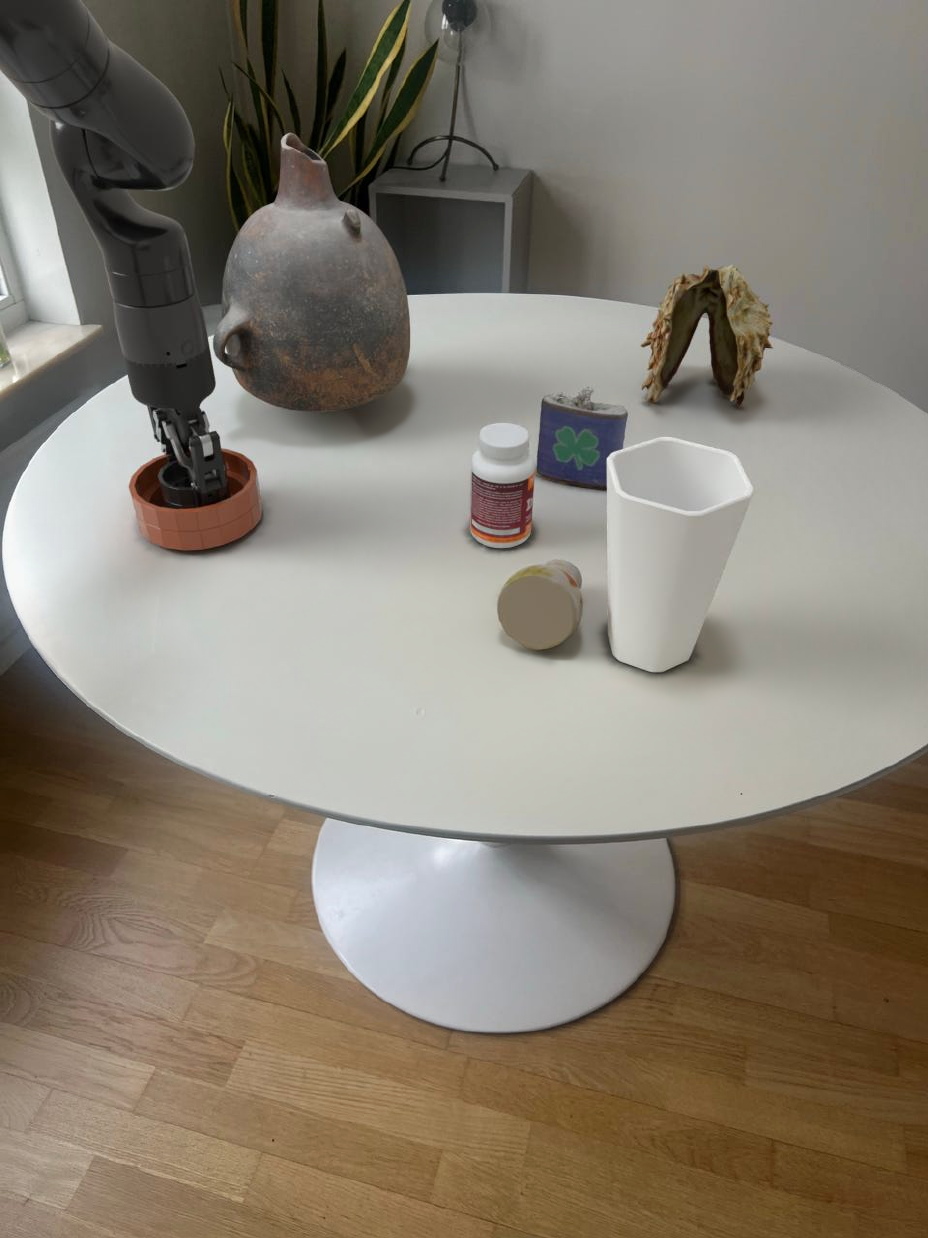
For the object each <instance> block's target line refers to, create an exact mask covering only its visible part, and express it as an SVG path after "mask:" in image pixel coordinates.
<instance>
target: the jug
mask: <svg viewBox="0 0 928 1238" xmlns="http://www.w3.org/2000/svg"><path fill="white" fill-rule="evenodd" d="M279 169H280V170H279V171H280V173H279V181H278V182H279V183H278V190H277V193H276V197H275V199H274V201H273V202H272V203H269V204H267V205H264V206H262V207H260V208H259V209H257V210H256V211H254V213H252V214H251V215H250V216H249V217H248V218H247V220H246V221H245V222H244V223H243V225H242V226H241V228H240V230H239V232H237V235H236V237H235V239H234V241H233V244H232V246H231V248H230V251H229V253H228V256H227V260H226V263H225V267H224V271H223V277H222V291H221V321H220V322H219V323H218V325H217V327H216V328H215V330H214V333H213V334H214V335H213V338H212V349H213V353H214V356H215V358H217V359H218V361H220V362H221V363H222V364H224V365H225V366H227V367H228V368H231V370H232V373H233V375H234V378H235V380H236V381H237V383H238V384H239V385H240V387H242V389H244V390H245V391H246V392H247V393H248V394H250V395H251V396H253V397H255V398H257V399H258V400H261V401H263V402H265V403H267V404H269V405H271V406H274V407H277V408H281V409H284V410H285V409H286V410H290V411H298V412H309V413H310V412H311V413H313V412H314V413H315V412H317V413H319V412H320V413H321V412H323V413H325V412H335V411H343V410H349V409H352V408H356V407H359V406H362V405H364V404H367V403H369V402H372V401H374V400H377V399H379V398H381V397H383V396H385V395H388V394H389V393H391V392H392V391H394V390H395V388H396V387H398V386H399V384H400V383H401V382H402V380H403V378H404V376H405V374H406V370H407V367H408V362H409V359H410V353H411V319H410V318H411V317H410V308H409V307H410V306H409V300H408V299H409V298H408V293H407V287H406V282H405V278H404V276H403V274H402V270H401V267H400V264H399V261H398V259H397V256H396V254H395V252H394V250H393V248H392V246H391V245H390V243H389V241H388V239H387V238H386V236H385V235H384V233H383V231H382V230H381V228H380V227H379V226H378V225H377V224H376V223H375V221H374V220H373V219H372V218H371V217H370V216H369V215H368V214H366V213H365V212H364V211H362V210H361V209H359V208H357V207H356V206H354V205H352V204H350V203H348V202H345V201H341V200H340V199H339V198H338V197H337V195H336V193H335V191H334V188H333V184H332V182H331V177H330V173H329V168H328V164H327V162H326V161H325V160H324V159H323V158H322V157H321V156H320V155H319V154H318V153H317V152H315V151H314V150H312V149H311V148H309V147H307V146H306V145H305V144H303V142H302V141H301V140H300V138H299V137H298V136H297V135H296V134H295V133H292V132H288V133H286V134H285V135H284V136H282V137H281V140H280V168H279Z"/></svg>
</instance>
